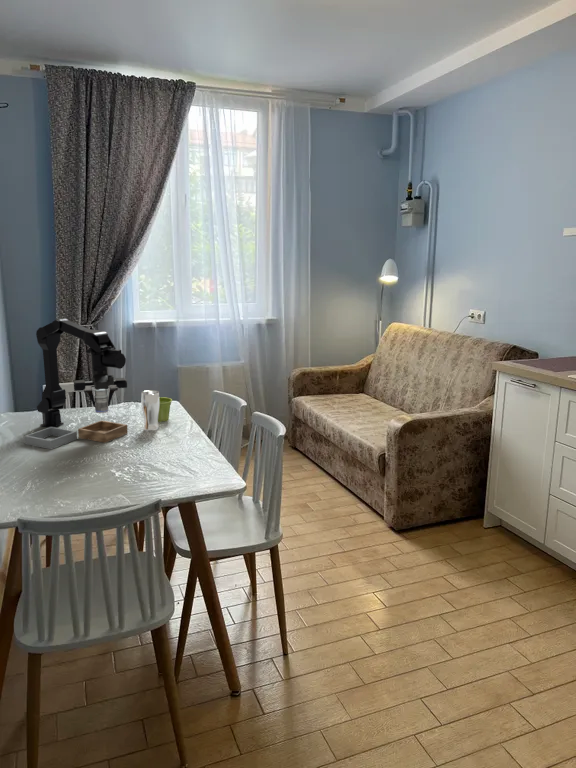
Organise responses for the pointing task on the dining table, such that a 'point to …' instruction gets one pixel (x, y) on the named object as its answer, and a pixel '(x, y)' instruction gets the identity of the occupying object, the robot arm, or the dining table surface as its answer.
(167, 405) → the plant pot
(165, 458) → the dining table surface
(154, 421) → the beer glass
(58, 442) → the bin
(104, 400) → the pill bottle
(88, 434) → the walnut bin
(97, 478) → the dining table surface
